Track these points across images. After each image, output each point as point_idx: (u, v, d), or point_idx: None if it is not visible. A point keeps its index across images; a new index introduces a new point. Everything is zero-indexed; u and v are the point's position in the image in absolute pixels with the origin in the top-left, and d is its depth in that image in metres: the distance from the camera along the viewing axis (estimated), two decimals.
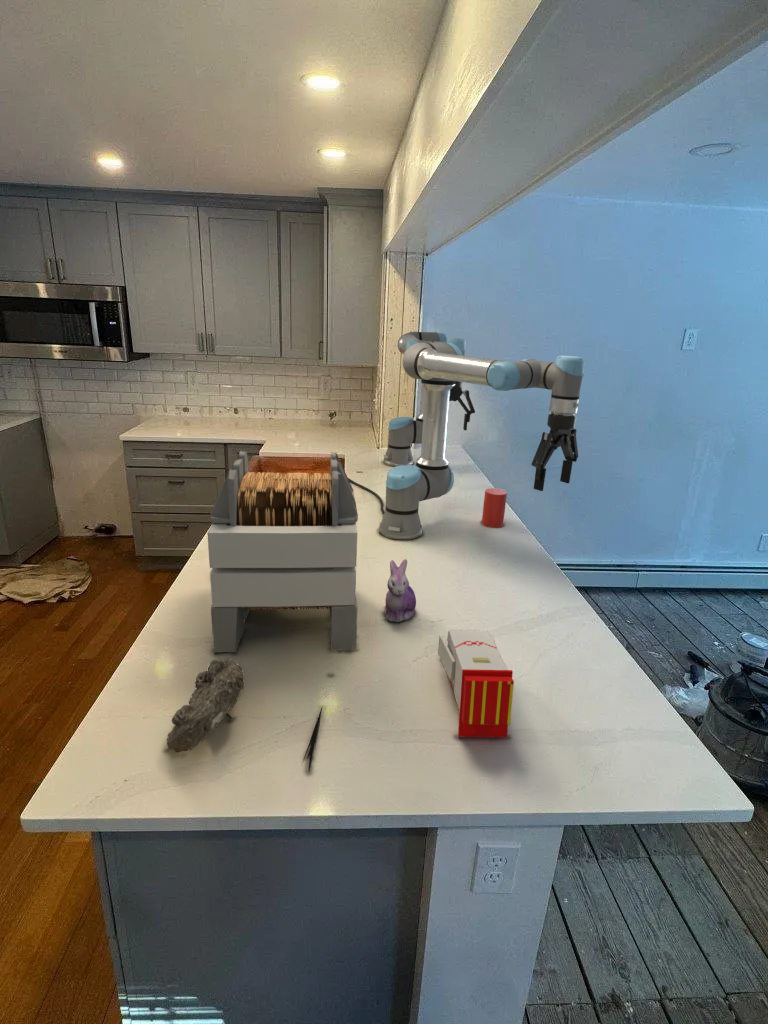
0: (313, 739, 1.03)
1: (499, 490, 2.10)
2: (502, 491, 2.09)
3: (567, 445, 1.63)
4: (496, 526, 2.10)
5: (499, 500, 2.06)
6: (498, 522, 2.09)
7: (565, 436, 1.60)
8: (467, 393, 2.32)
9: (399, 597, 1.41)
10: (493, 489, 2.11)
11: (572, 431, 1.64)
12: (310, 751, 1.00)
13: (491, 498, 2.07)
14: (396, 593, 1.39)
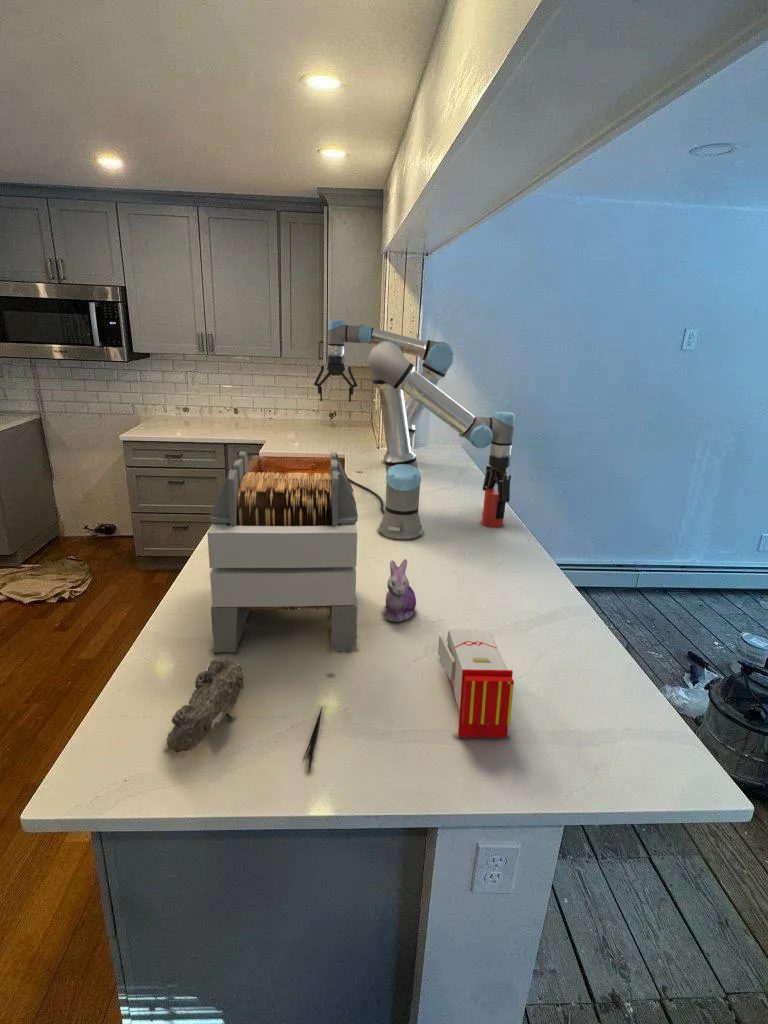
0: (313, 739, 1.03)
1: None
2: None
3: None
4: (496, 526, 2.10)
5: None
6: (498, 522, 2.09)
7: None
8: (349, 369, 2.64)
9: (399, 597, 1.41)
10: (493, 489, 2.11)
11: None
12: (310, 751, 1.00)
13: (491, 498, 2.07)
14: (396, 593, 1.39)
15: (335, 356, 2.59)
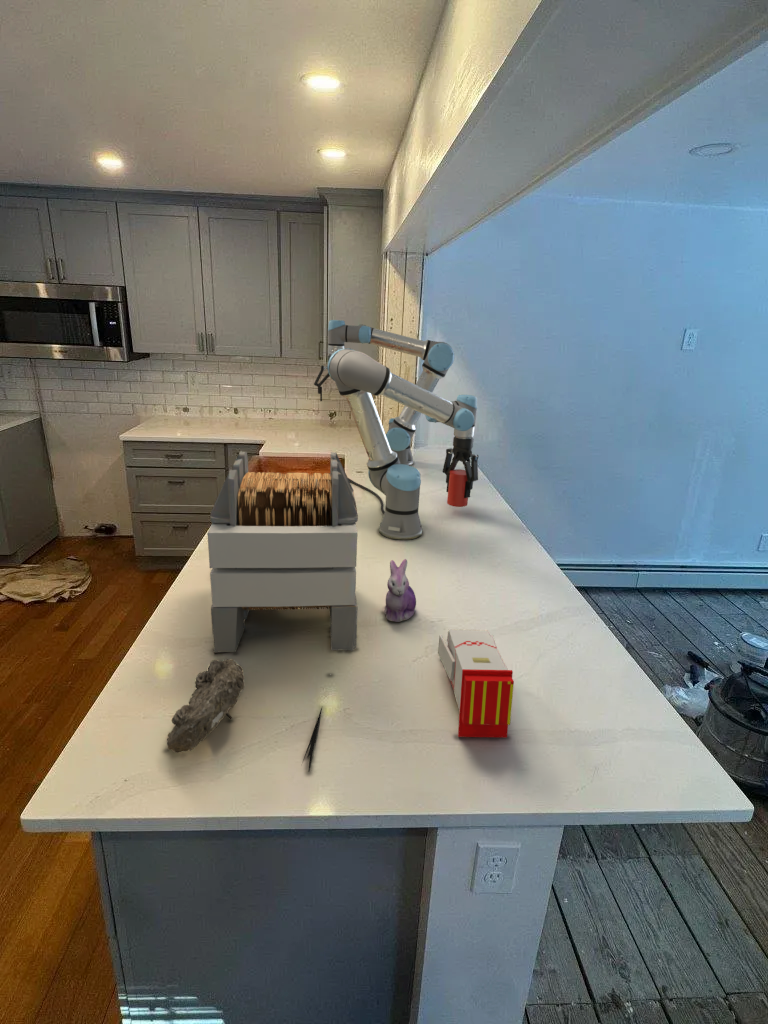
0: (313, 739, 1.03)
1: (461, 470, 2.19)
2: (465, 471, 2.19)
3: None
4: (464, 505, 2.19)
5: (467, 480, 2.16)
6: (466, 501, 2.19)
7: None
8: None
9: (399, 597, 1.41)
10: (456, 471, 2.19)
11: None
12: (310, 751, 1.00)
13: (460, 479, 2.15)
14: (396, 593, 1.39)
15: None
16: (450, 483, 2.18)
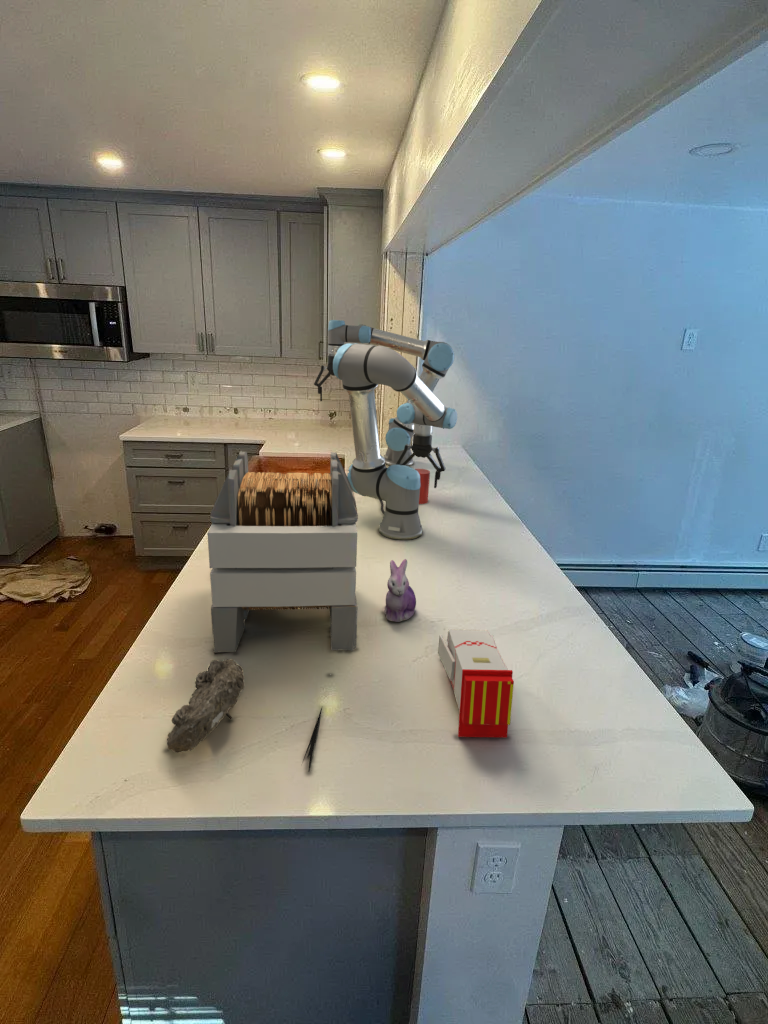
0: (313, 739, 1.03)
1: (419, 469, 2.33)
2: (422, 469, 2.33)
3: None
4: (427, 501, 2.34)
5: (429, 477, 2.30)
6: None
7: None
8: None
9: (399, 597, 1.41)
10: None
11: None
12: (310, 751, 1.00)
13: (424, 477, 2.28)
14: (396, 593, 1.39)
15: None
16: None
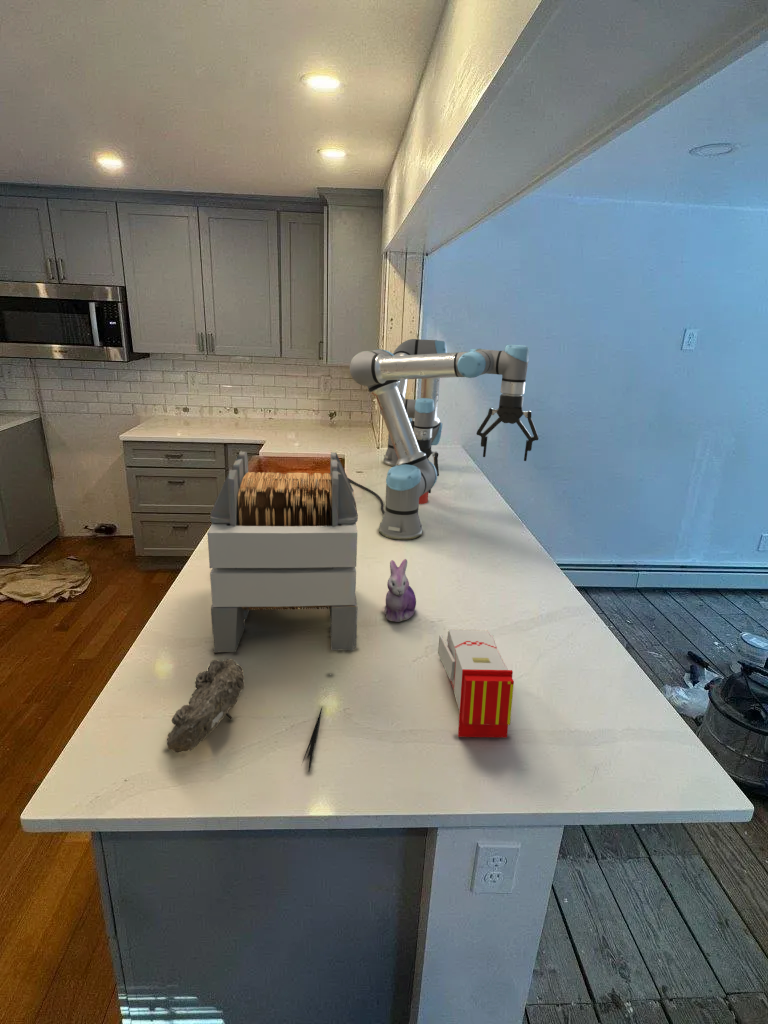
0: (313, 739, 1.03)
1: None
2: None
3: None
4: (427, 501, 2.34)
5: None
6: None
7: None
8: (436, 455, 2.28)
9: (399, 597, 1.41)
10: None
11: None
12: (310, 751, 1.00)
13: None
14: (396, 593, 1.39)
15: (423, 440, 2.23)
16: None
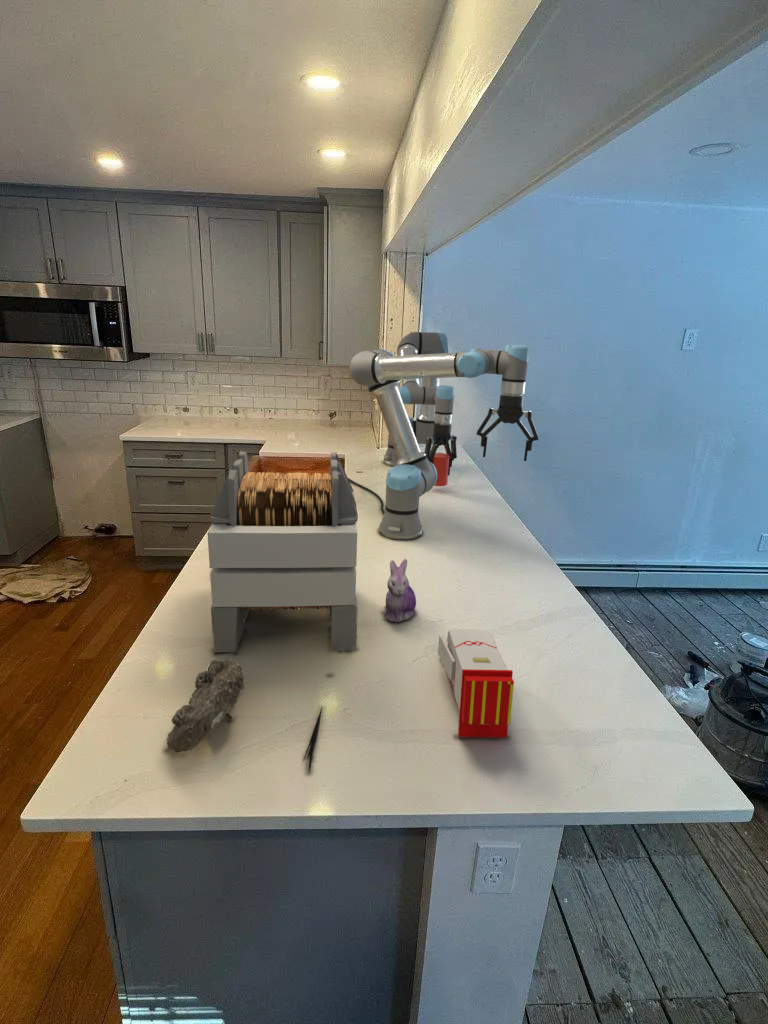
0: (313, 739, 1.03)
1: (437, 453, 2.45)
2: (440, 453, 2.46)
3: None
4: None
5: None
6: None
7: None
8: (455, 439, 2.42)
9: (399, 597, 1.41)
10: (436, 455, 2.43)
11: None
12: (310, 751, 1.00)
13: (447, 460, 2.41)
14: (396, 593, 1.39)
15: (446, 425, 2.36)
16: (437, 466, 2.41)
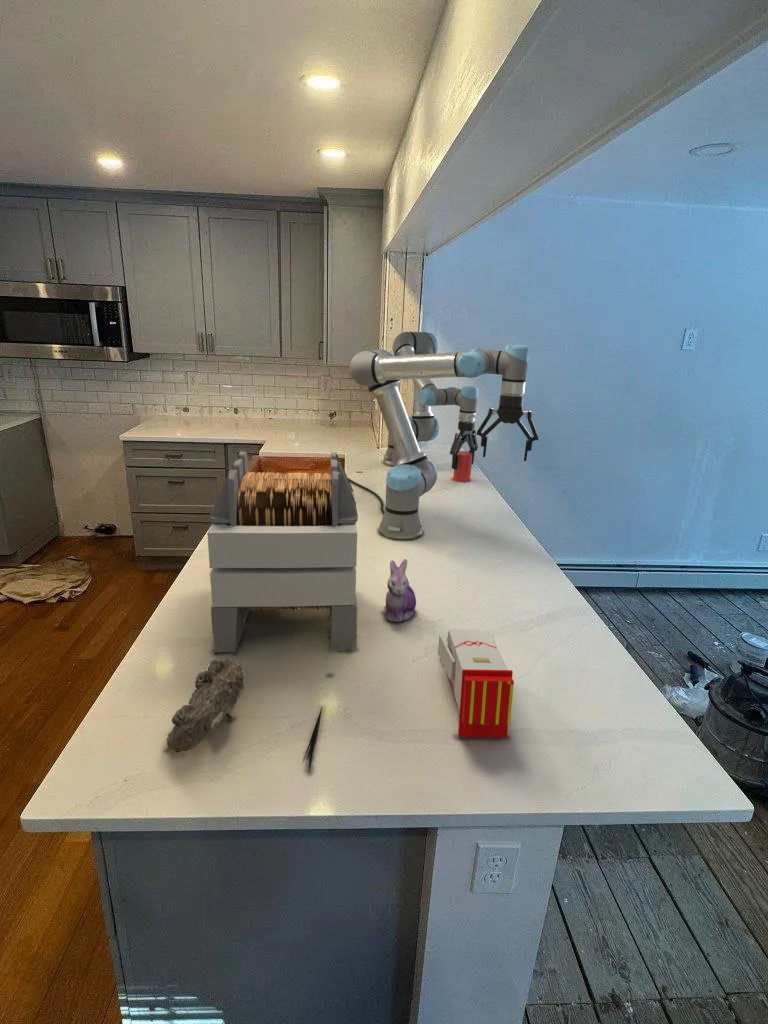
0: (313, 739, 1.03)
1: (460, 452, 2.64)
2: (461, 451, 2.65)
3: None
4: None
5: None
6: None
7: None
8: (475, 432, 2.64)
9: (399, 597, 1.41)
10: (460, 453, 2.62)
11: None
12: (310, 751, 1.00)
13: (471, 457, 2.62)
14: (396, 593, 1.39)
15: (472, 423, 2.56)
16: (465, 464, 2.61)
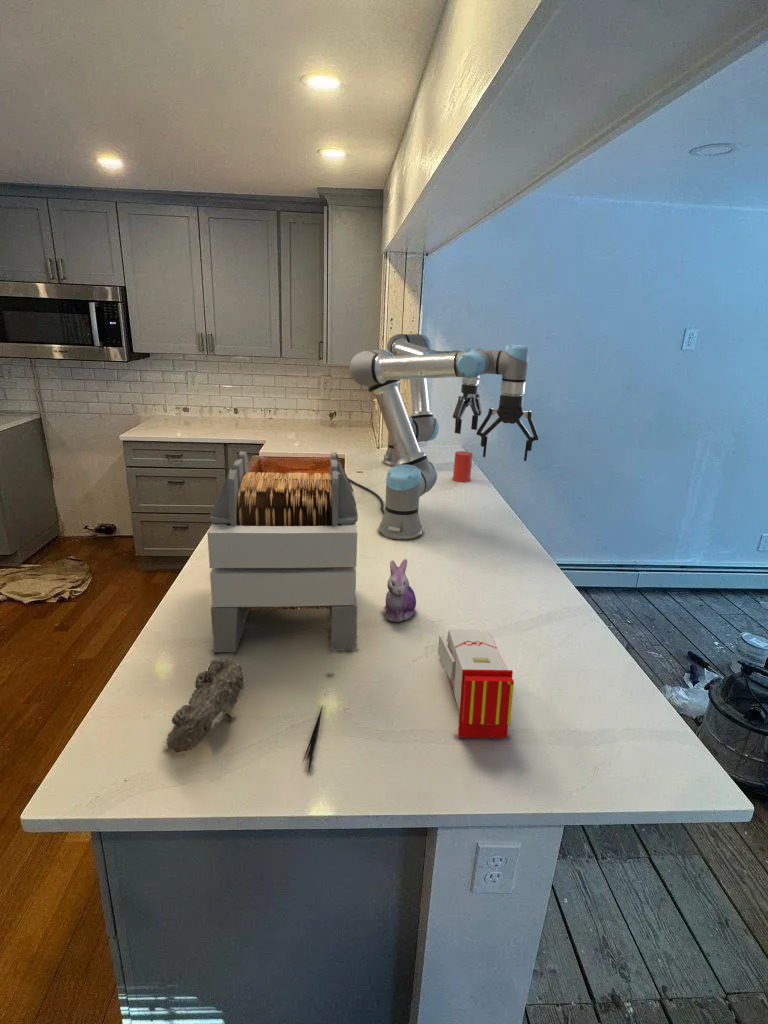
0: (313, 739, 1.03)
1: (460, 452, 2.64)
2: (461, 451, 2.65)
3: None
4: None
5: None
6: None
7: None
8: (478, 396, 2.58)
9: (399, 597, 1.41)
10: (460, 453, 2.62)
11: None
12: (310, 751, 1.00)
13: (471, 457, 2.62)
14: (396, 593, 1.39)
15: (476, 386, 2.50)
16: (465, 464, 2.61)
